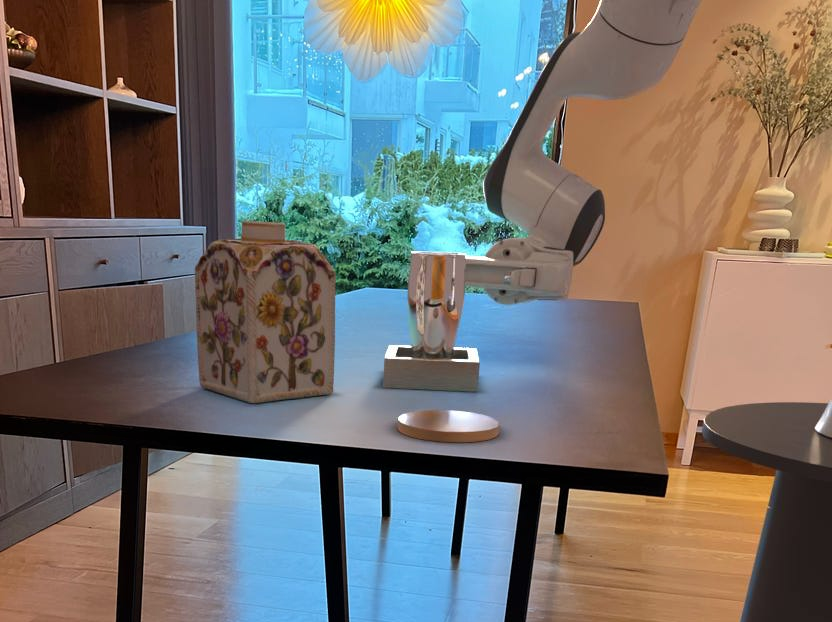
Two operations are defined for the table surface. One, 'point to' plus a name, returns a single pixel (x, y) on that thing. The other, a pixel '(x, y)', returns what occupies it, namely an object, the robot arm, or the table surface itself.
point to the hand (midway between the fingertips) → (475, 275)
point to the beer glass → (435, 302)
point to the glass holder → (431, 370)
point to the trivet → (448, 426)
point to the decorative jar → (265, 316)
